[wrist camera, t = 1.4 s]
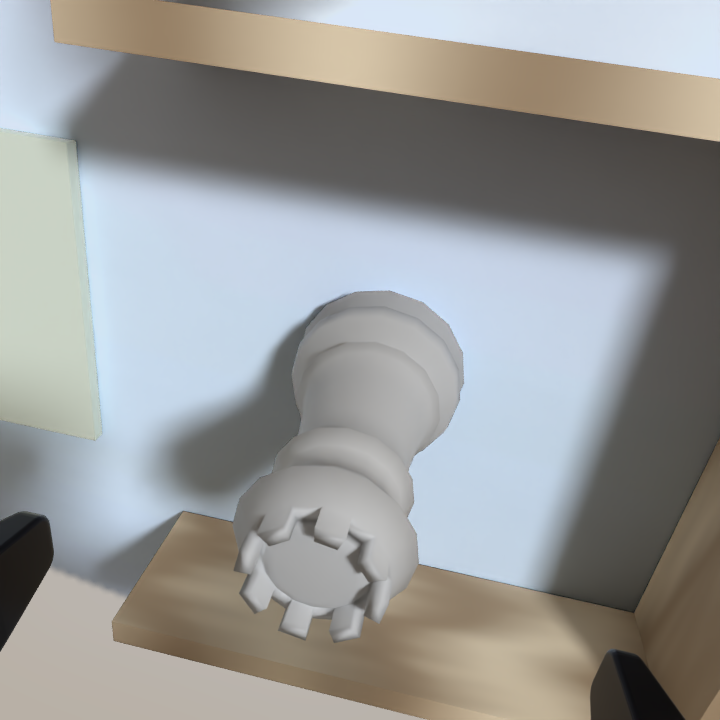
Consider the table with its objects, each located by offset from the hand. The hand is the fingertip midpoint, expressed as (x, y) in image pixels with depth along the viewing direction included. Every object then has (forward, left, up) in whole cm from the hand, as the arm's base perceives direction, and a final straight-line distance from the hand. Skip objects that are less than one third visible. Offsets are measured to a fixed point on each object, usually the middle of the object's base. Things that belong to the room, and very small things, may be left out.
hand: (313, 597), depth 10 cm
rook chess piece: (0, 0, -8) cm, 8 cm away
